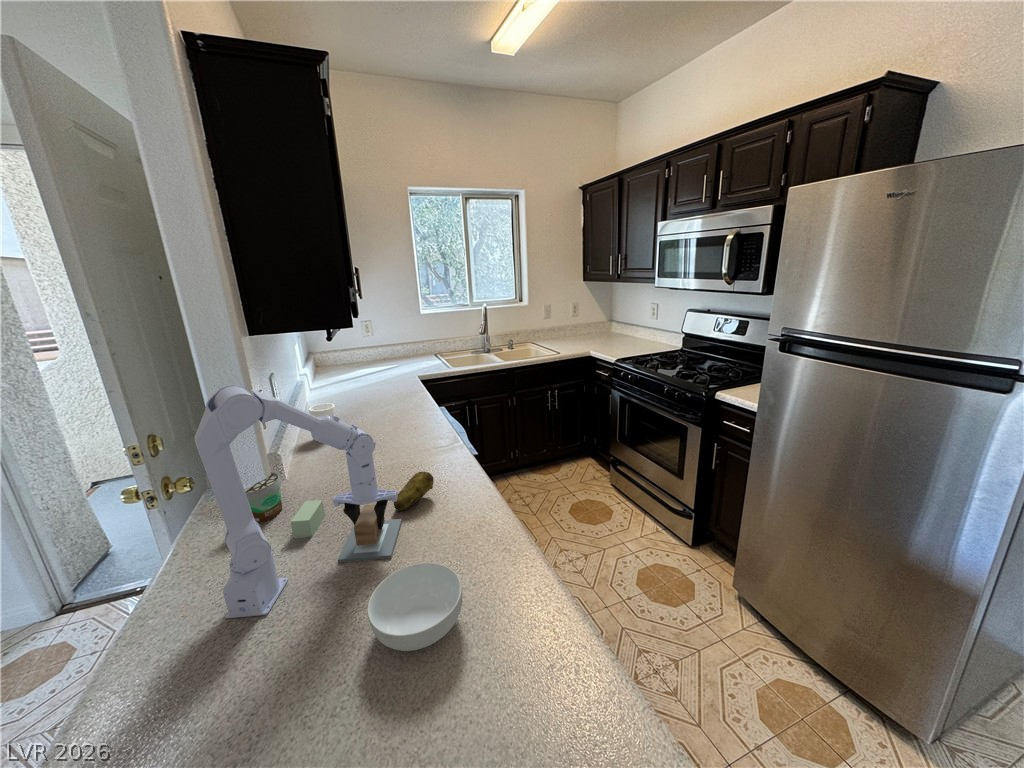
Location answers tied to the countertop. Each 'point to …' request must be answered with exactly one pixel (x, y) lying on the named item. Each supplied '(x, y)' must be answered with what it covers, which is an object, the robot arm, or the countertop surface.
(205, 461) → the robot arm
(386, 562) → the countertop surface
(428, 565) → the cereal bowl
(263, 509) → the food container
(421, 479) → the potato
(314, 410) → the foam cup
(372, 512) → the walnut brick
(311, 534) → the green brick
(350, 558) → the board
